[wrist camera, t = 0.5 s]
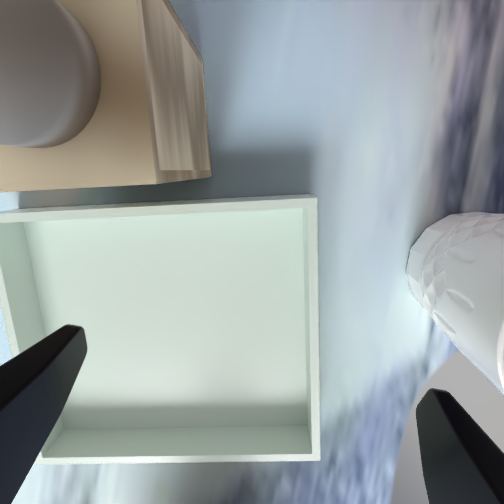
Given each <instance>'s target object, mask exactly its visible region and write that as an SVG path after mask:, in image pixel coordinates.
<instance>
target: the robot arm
mask: <svg viewBox="0 0 504 504" xmlns="http://www.w3.org/2000/svg"><path fill="white" fill-rule="evenodd" d="M86 354H87V341H86V336H85V330H84V328H83V327H82V326H77V325H72V324H67V325H64V326H62V327H61V328H59V329H58V330H56V331H54V332H53V333H51V334H50V335H48V336H47V337H45V338H43V339H42V340H40V341H39V342H37V343H36V344H34V345H33V346H31V347H29V348H28V349H26V350H25V351H23V352H22V353H20V354H18V355H17V356H15V357H14V358H12V359H11V360H9V361H7V362H6V363H4V364H3V365H1V366H0V504H11V503H12V501H13V499H14V498H15V496H16V494H17V492H18V490H19V489H20V487H21V485H22V483H23V482H24V480H25V478H26V476H27V474H28V473H29V471H30V469H31V467H32V465H33V464H34V462H35V460H36V458H37V456H38V455H39V453H40V451H41V449H42V447H43V446H44V444H45V442H46V440H47V438H48V437H49V435H50V433H51V431H52V429H53V428H54V426H55V424H56V422H57V420H58V419H59V417H60V415H61V413H62V411H63V408H64V406H65V404H66V402H67V399H68V397H69V395H70V392H71V390H72V388H73V385H74V383H75V381H76V378H77V376H78V374H79V371H80V369H81V367H82V364H83V362H84V360H85V357H86ZM416 419H417V428H418V436H419V444H420V452H421V461H422V468H423V476H424V481H425V485H426V490H427V494H428V499H429V504H504V453H503V452H502V451H501V450H500V449H499V447H498V446H497V445H496V444H495V443H494V442H493V441H492V440H491V439H490V438H489V436H488V435H487V434H486V433H485V432H484V431H483V430H482V429H481V427H480V426H479V425H478V424H477V423H476V422H475V421H474V420H473V419H472V417H471V416H470V415H469V414H468V413H467V412H466V411H465V410H464V408H463V407H462V406H461V405H460V404H459V403H458V402H457V401H456V399H454V397H453V396H452V395H451V394H450V393H449V392H447V391H445V390H440V389H434V388H431V389H429V390H428V391H427V393H426V394H425V395H424V397H423V398H422V400H421V401H420V403H419V404H418V405H417V408H416Z"/></svg>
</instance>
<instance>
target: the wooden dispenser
mask: <svg viewBox="0 0 504 504" xmlns="http://www.w3.org/2000/svg"><path fill="white" fill-rule="evenodd" d="M208 177H212V173H211V160H210V147H209V134H208V121H207V108H206V95H205V82H204V69H203V59H202V57H201V56H200V54H199V52H198V50H197V49H196V47H195V45H194V43H193V42H192V40H191V38H190V36H189V35H188V33H187V31H186V29H185V28H184V26H183V24H182V23H181V21H180V19H179V17H178V16H177V14H176V12H175V10H174V9H173V7H172V5H171V3H170V2H169V0H0V192H18V191H37V190H55V189H74V188H93V187H112V186H130V185H149V184H161V183H169V182H177V181H184V180H192V179H200V178H208Z"/></svg>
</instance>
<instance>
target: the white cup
mask: <svg viewBox="0 0 504 504" xmlns="http://www.w3.org/2000/svg"><path fill="white" fill-rule="evenodd" d="M406 275H407V279H408V283H409V286H410V290H411V294H412V295H413V297H414V298H415V299H416V300H417V301H418V302H419V303H420V304H421V305H422V306H423V307H424V308H425V309H426V310H427V311H428V312H429V314H430V315H431V316H432V318H433V320H434V322H435V323H436V324H437V325H438V326H439V327H440V329H441V330H442V331H443V332H444V333H445V334H446V336H447V337H448V338H449V339H450V340H451V341H452V342H453V343H454V344H455V346H456V347H457V348H458V349H459V350H460V351H461V352H462V353H463V354H464V355H465V356H466V357H467V358H468V359H469V360H470V361H471V362H472V363H473V364H474V365H475V366H476V367H477V368H478V369H479V370H480V372H482V374H483V375H484V376H485V377H486V378H487V379H488V380H489V381H490V382H491V384H492V385H493V386H494V387H495V388H496V389H497V390H498V391H499V392H500V393H501V394H502V395H503V396H504V214H492V213H485V212H468V213H459V214H450V215H448V216H446V217H445V218H443V219H441V220H439V221H438V222H436V223H434V224H432V225H431V226H429V227H427V228H426V229H425V231H424V232H423V233H422V234H421V236H420V237H419V238H418V240H417V241H416V242H415V244H414V245H413V246H412V248H411V250H410V255H409V259H408V264H407V268H406Z"/></svg>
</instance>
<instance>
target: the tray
mask: <svg viewBox="0 0 504 504" xmlns="http://www.w3.org/2000/svg"><path fill="white" fill-rule="evenodd" d="M0 305H1V310H2V314H3V319H4V323H5V327H6V332H7V336H8V341H9V345H10V350H11V354H12V358H14V357H15V356H17V355H18V354H20V353H22V352H23V351H25V350H26V349H28V348H29V347H31V346H33V345H34V344H36V343H37V342H39V341H40V340H42V339H43V338H45V337H47V336H48V335H50V334H51V333H53V332H54V331H56V330H58V329H59V328H61V327H62V326H64V325H67V324H72V325H77V326H82V327H83V328H84V330H85V336H86V341H87V354H86V357H85V360H84V362H83V364H82V367H81V369H80V371H79V374H78V376H77V378H76V381H75V383H74V385H73V388H72V390H71V392H70V395H69V397H68V399H67V402H66V404H65V406H64V408H63V411H62V413H61V415H60V417H59V419H58V420H57V422H56V424H55V426H54V428H53V429H52V431H51V433H50V435H49V437H48V438H47V440H46V442H45V444H44V446H43V447H42V449H41V451H40V453H39V455H38V456H37V458H36V460H35V461H36V465H47V464H120V463H193V462H266V461H320V388H319V306H318V224H317V197H315V196H313V195H311V194H299V195H280V196H260V197H240V198H221V199H201V200H181V201H162V202H142V203H123V204H103V205H83V206H64V207H44V208H24V209H14V210H7V211H1V212H0Z"/></svg>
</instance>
